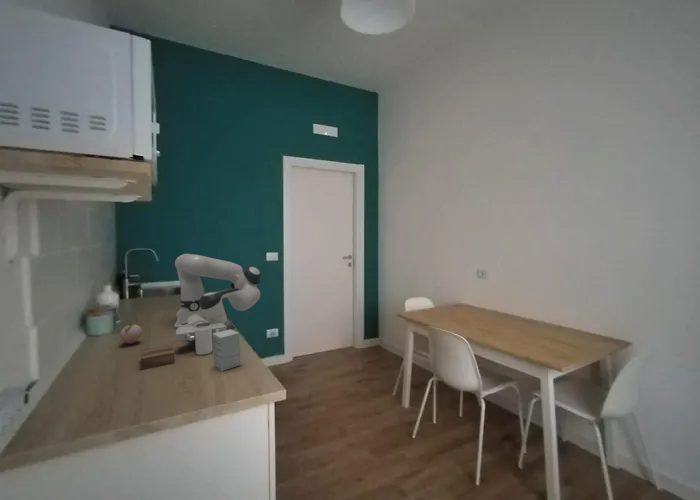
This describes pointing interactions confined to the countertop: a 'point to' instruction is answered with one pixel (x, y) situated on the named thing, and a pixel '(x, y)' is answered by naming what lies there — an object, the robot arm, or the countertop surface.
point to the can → (203, 338)
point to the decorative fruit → (131, 333)
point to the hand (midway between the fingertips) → (204, 336)
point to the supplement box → (226, 349)
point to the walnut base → (157, 357)
